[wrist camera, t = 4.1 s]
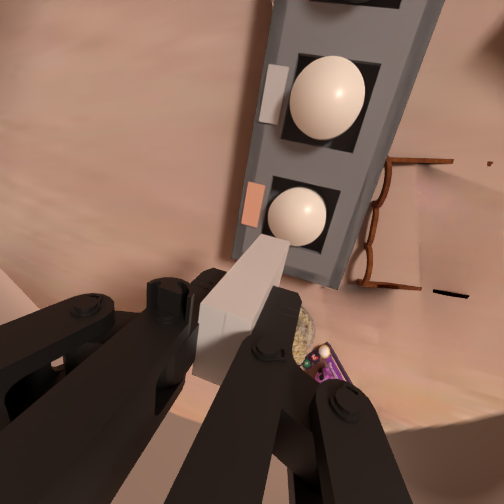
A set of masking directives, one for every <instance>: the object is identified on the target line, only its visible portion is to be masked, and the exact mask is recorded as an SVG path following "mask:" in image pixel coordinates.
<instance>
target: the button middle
mask: <svg viewBox="0 0 504 504" xmlns="http://www.w3.org/2000/svg"><path fill="white" fill-rule="evenodd" d="M364 96H365V86H364V81H363V77H362V75H361V73H360V71H359V69H358V68H357V67H356V66H355V65H354V64H353V63H352V62H351V61H349V60H348V59H346V58H343V57H339V56H326V57H322V58H319V59H317V60H315V61H313V62H312V63H310V64H309V65H308V66H307V67H305V68H304V69H303V71H302V72H301V73H300V74H299V76H298V77H297V79H296V81H295V83H294V85H293V88H292V91H291V96H290V111H291V115H292V118H293V120H294V122H295V124H296V125H297V127H298V128H299V129H300V130H301V131H302V132H303V133H305V134H306V135H308V136H309V137H311V138H313V139H316V140H331V139H334V138H336V137H339V136H340V135H342V134H343V133H345V132H346V131H347V130H348V129H349V128H350V127H351V125H352V124H353V123H354V121H355V120H356V118H357V117H358V115H359V113H360V111H361V108H362V106H363V102H364Z"/></svg>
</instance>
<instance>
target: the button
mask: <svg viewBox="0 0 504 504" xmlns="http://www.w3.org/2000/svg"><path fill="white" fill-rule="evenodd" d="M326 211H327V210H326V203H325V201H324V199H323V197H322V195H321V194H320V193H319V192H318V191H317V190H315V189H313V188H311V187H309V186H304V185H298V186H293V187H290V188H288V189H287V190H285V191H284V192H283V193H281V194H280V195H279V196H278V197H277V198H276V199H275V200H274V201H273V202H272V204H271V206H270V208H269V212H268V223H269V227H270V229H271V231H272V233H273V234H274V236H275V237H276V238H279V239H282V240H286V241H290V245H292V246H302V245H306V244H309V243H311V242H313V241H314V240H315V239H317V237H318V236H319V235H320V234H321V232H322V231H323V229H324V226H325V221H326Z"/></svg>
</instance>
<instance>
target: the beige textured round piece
mask: <svg viewBox="0 0 504 504" xmlns="http://www.w3.org/2000/svg"><path fill="white" fill-rule="evenodd" d="M314 331H315V330H314V325H313V323H312V319H311V318H310V316H309V314H308V313H307V312H306V311H305V309H304V308H303V307H301V309H300V313H299V318H298V323H297V328H296V332H295V337H294V342H293V346H292V353H293V357H294V359H295V361H296V363H297V364H299V365H301V363H303V360H305V356H306V355H307V354H306V353H307V352H306V351H308V348H309V347H310V345H311V344H312V343H313V339H314V334H315V332H314Z"/></svg>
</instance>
